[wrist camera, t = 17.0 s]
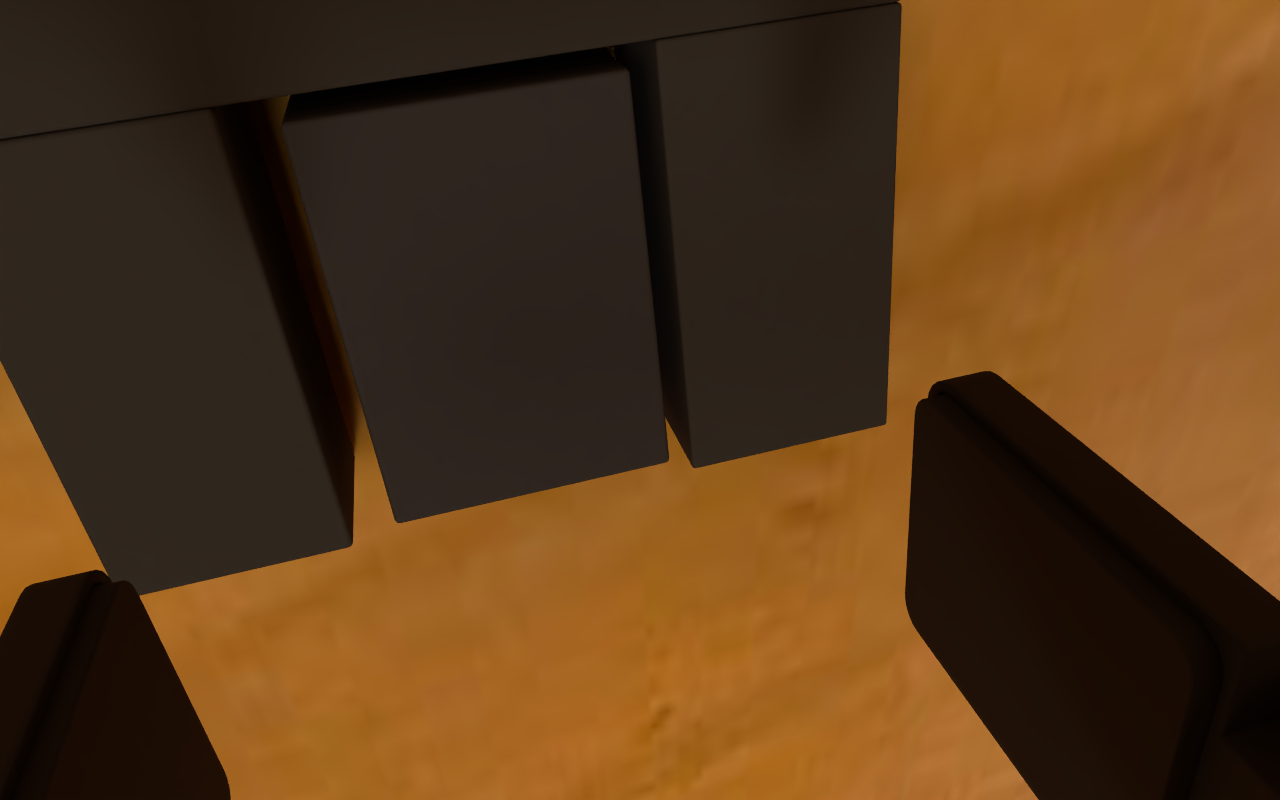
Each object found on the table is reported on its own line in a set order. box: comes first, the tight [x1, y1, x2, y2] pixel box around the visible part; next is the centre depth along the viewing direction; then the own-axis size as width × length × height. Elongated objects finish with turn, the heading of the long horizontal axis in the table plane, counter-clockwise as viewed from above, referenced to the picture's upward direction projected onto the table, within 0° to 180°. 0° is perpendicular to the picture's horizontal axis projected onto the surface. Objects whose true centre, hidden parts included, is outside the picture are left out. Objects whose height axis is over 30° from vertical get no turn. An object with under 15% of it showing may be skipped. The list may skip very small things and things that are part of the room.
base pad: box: [0, 0, 902, 595], centre depth 15 cm, size 14×12×3 cm
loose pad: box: [281, 48, 669, 523], centre depth 17 cm, size 5×7×3 cm
